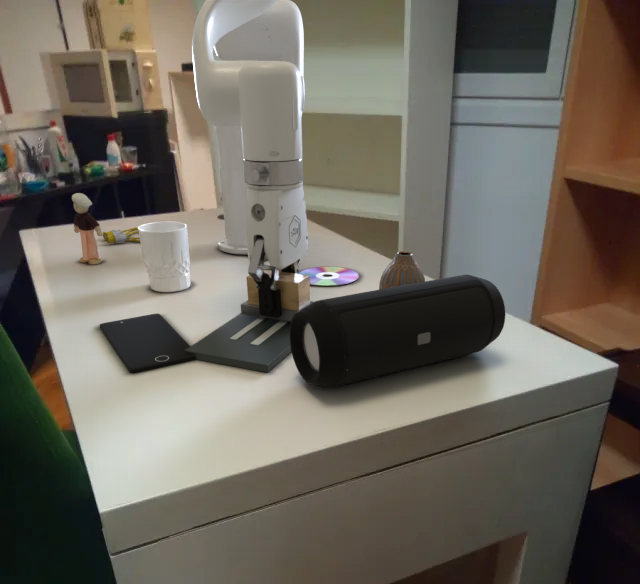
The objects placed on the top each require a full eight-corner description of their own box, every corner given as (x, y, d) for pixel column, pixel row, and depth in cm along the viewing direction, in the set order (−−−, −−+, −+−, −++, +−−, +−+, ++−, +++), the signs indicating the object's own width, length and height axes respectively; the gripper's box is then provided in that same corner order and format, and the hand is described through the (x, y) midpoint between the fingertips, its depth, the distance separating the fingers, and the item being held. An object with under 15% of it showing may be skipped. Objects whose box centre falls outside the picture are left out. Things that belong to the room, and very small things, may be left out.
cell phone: (131, 377, 73) (129, 370, 72) (99, 329, 86) (98, 323, 86) (200, 361, 76) (199, 355, 76) (159, 318, 90) (158, 312, 89)
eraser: (241, 314, 86) (238, 276, 83) (257, 303, 90) (254, 267, 87) (304, 323, 82) (303, 284, 79) (318, 312, 86) (317, 274, 83)
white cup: (183, 295, 98) (175, 233, 93) (139, 292, 99) (128, 231, 94) (201, 280, 104) (194, 222, 99) (159, 278, 106) (150, 220, 101)
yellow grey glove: (105, 233, 136) (104, 224, 135) (175, 229, 139) (174, 220, 138) (101, 246, 125) (99, 236, 124) (177, 241, 129) (176, 232, 128)
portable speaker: (324, 407, 65) (324, 320, 60) (287, 372, 73) (284, 293, 67) (503, 361, 75) (516, 283, 70) (454, 334, 82) (462, 263, 77)
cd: (372, 277, 105) (372, 276, 105) (323, 290, 99) (323, 289, 99) (331, 263, 113) (331, 263, 113) (283, 274, 107) (283, 274, 107)
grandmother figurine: (70, 262, 115) (54, 193, 108) (84, 257, 118) (69, 190, 111) (102, 266, 112) (88, 196, 106) (115, 261, 115) (102, 192, 109)
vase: (427, 305, 93) (432, 249, 88) (418, 321, 87) (423, 261, 82) (384, 301, 94) (386, 245, 90) (373, 316, 89) (375, 257, 84)
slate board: (263, 303, 94) (263, 297, 93) (334, 313, 90) (334, 307, 89) (185, 357, 77) (184, 349, 76) (267, 372, 72) (267, 364, 72)
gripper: (269, 185, 68) (276, 333, 78) (325, 166, 82) (325, 294, 91) (213, 182, 71) (227, 326, 80) (276, 164, 84) (281, 289, 94)
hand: (279, 308), depth 86 cm, fingers closed on eraser, 5 cm apart
